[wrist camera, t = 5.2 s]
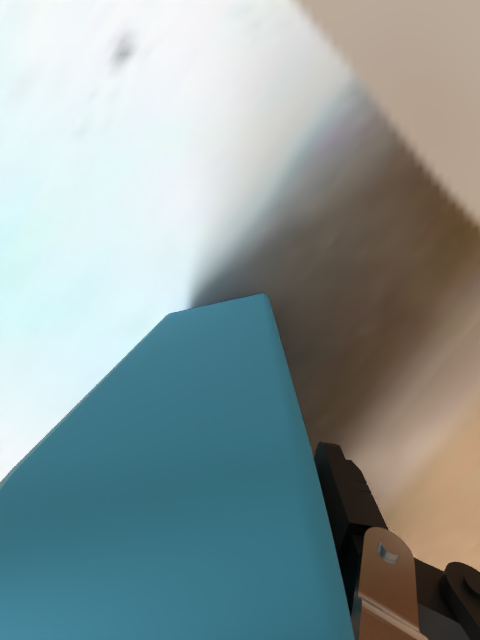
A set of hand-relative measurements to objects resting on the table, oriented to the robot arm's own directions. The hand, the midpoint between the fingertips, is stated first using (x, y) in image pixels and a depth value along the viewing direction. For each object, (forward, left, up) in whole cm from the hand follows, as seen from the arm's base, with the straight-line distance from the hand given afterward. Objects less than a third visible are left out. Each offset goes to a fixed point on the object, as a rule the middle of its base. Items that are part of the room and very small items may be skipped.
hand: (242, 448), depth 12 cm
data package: (0, 0, -4) cm, 4 cm away
